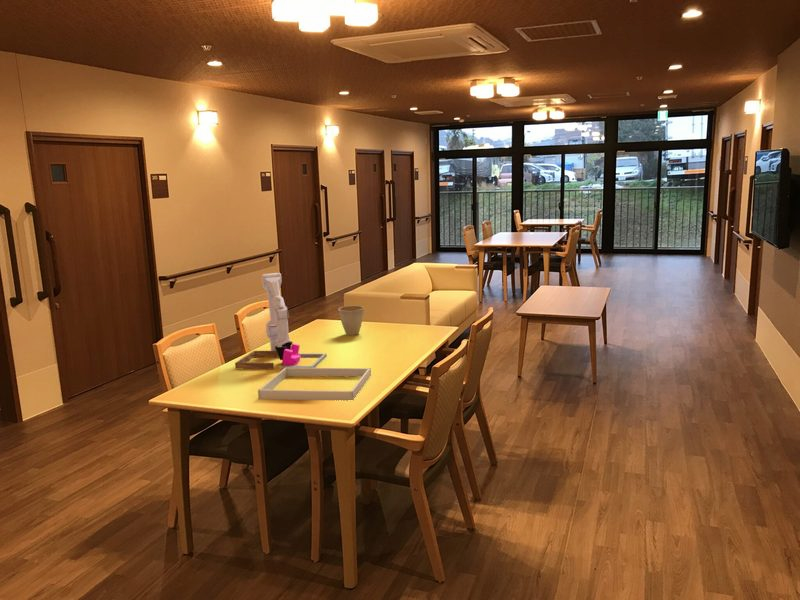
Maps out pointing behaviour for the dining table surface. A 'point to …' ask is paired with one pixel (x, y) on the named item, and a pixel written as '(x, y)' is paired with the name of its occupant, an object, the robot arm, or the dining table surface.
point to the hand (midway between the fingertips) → (284, 357)
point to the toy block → (291, 355)
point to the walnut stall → (244, 365)
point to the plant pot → (351, 319)
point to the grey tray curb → (268, 393)
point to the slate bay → (308, 356)
